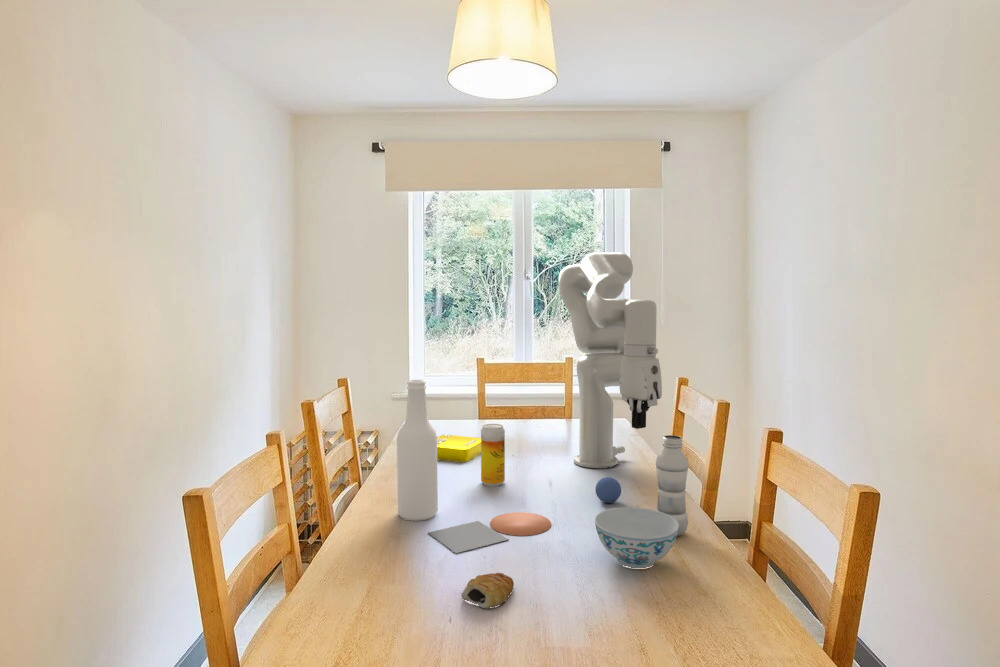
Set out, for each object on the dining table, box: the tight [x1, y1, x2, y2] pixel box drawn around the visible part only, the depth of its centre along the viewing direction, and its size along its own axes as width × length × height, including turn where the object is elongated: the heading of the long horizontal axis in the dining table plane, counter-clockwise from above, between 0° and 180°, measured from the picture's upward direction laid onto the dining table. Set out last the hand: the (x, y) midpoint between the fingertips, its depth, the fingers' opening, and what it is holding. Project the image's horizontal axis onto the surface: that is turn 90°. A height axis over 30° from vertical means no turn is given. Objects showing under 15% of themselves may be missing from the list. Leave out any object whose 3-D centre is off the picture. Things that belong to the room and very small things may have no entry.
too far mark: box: [427, 520, 510, 555], centre depth 128 cm, size 12×12×1 cm
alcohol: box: [396, 379, 439, 522], centre depth 140 cm, size 9×9×30 cm
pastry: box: [460, 572, 515, 609], centre depth 104 cm, size 9×7×4 cm
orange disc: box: [489, 511, 552, 537], centre depth 135 cm, size 13×13×1 cm
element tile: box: [437, 434, 481, 463], centre depth 192 cm, size 15×15×5 cm
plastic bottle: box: [655, 434, 689, 537], centre depth 129 cm, size 6×7×20 cm
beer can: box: [480, 423, 506, 487], centre depth 163 cm, size 6×6×15 cm
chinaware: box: [594, 506, 679, 568], centre depth 116 cm, size 15×15×8 cm
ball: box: [594, 476, 622, 504], centre depth 149 cm, size 6×6×6 cm
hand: (638, 427), depth 153 cm, fingers closed
